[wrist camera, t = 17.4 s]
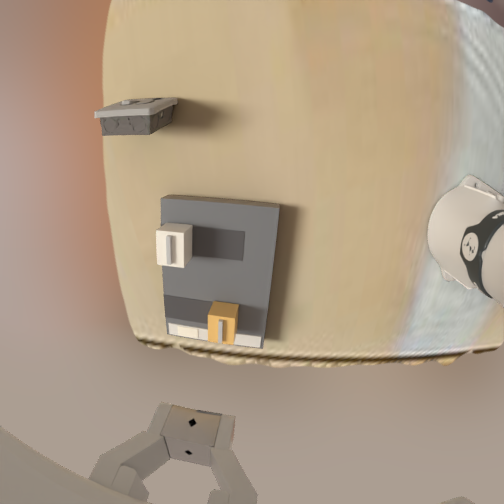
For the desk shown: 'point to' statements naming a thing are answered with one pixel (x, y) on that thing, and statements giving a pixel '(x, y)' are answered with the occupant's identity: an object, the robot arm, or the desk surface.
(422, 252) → the desk surface
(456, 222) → the robot arm
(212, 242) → the switch unit
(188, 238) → the ivory slider
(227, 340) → the amber slider
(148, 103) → the grey hollow box
